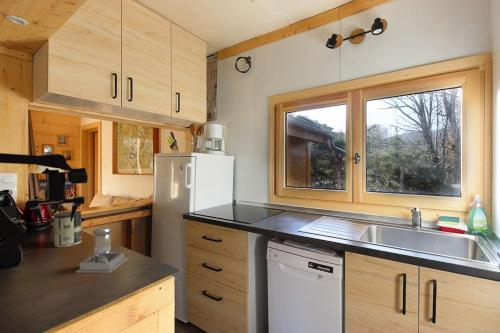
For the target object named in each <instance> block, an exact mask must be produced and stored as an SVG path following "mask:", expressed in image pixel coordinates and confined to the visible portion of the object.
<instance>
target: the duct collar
mask: <svg viewBox="0 0 500 333" xmlns="http://www.w3.org/2000/svg"><path fill="white" fill-rule="evenodd" d="M127 260H129V258H128V257H125V252H111V261H109V262H95V254H93V255H92V256H89V257H88V258H87V259H84V260H83V261H82V262H80V263H79V269H78V270H76V271H74V272H75V273H77V274H78V273H80V274H81V273H83V274H84V273H93V274H94V273H99V274H100V273H103V274H107V273H111V272H113V271H114V270H116V269H117V268H118V267H119V266H121V265H122V264H124V263H125V262H126V261H127Z"/></svg>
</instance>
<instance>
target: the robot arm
mask: <svg viewBox="0 0 500 333" xmlns="http://www.w3.org/2000/svg"><path fill="white" fill-rule="evenodd" d="M0 164H14V165H16V164H17V165H36V166H41V167H45V169H44V170H42V171H41V172H40V174H42V175H47V189H45V191H44V198H45V199H47V200H45V199H43V200H41V198H34V199H33V198H32V199H27V200H26V201H25V203H24V208H25V209H29V211H33V213H34V214H35V215H36V217H37V219H38V220H39V222H40V224H41V225H42V226H43V225H44V216H43V215H44V214H43V207H42V206H49V205H61V204H62V205H63V204H72V206H71V211H70V212H71V218H70V221H71V222H72V219H73V216H74V213H75V211H77V209H78V207H81V206H82V205H85V202H86V200H85V196H83V195H80V196H73V198H67V190H66V189H67V188H66V185H67V184H66V182H67V183H69V185H77V184H78V185H79V184H87V182H88V178H89V176H88V172H87V168H86V167H80V168H78V167H77V168H75V167H74V168H72V167H71V166H70V164H68V163H67V159H66V157H65V156H64V155H63V154H60V153H51V154H39V155H35V154H34V155H33V154H20V153H19V154H18V153H3V152H2V153H1V152H0ZM50 168H52V169H50ZM59 169H60V170H61V171H60V170H59ZM63 171H64V172H63ZM26 231H28V229H27V227H26V225H25V226H24V225H23V224H22V223H21V221H20V219H19V218H18V219H16V220H13V219H11V218H10V216H8V214H7V213H6V212H5V211H4V210H3V208H2V207H1V206H0V233H1V235H2V237H1V238H0V269H6V268H11V267H12V268H13V267H17V266H20V264H21V263H22V262H23V260H24V258H23V257H24V255H23V254H24V252H23V250H24V249H22V248H21V244H22V243H23V242H25V241H26V239H27V237H28V235H27V234H28V233H27V232H26Z"/></svg>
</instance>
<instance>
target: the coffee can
mask: <svg viewBox="0 0 500 333" xmlns="http://www.w3.org/2000/svg"><path fill="white" fill-rule="evenodd" d="M70 218H71V211H63V212H60V213H54V214H53V221H54V222H53V223H54V247H57V248H65V247H70V246H75V245H78V244H80V243H82V211H77V210H76V211H75V213H74V216H73V219H72V222H71V221H70Z"/></svg>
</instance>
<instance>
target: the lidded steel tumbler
mask: <svg viewBox="0 0 500 333" xmlns="http://www.w3.org/2000/svg"><path fill="white" fill-rule="evenodd" d="M112 232H113V230H112V227H109V226H108V227H107V226H103V227H98V228H95V229H93V231H92V235H93V236H94V255H95V262H109V261H111V253H112V251H111V250H112V249H111V248H112V246H111V244H112V242H111V237H112V236H111V233H112Z"/></svg>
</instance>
